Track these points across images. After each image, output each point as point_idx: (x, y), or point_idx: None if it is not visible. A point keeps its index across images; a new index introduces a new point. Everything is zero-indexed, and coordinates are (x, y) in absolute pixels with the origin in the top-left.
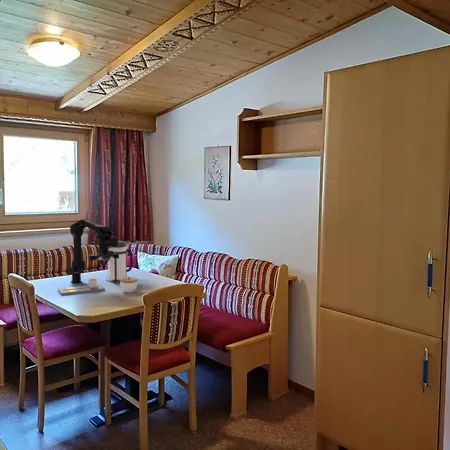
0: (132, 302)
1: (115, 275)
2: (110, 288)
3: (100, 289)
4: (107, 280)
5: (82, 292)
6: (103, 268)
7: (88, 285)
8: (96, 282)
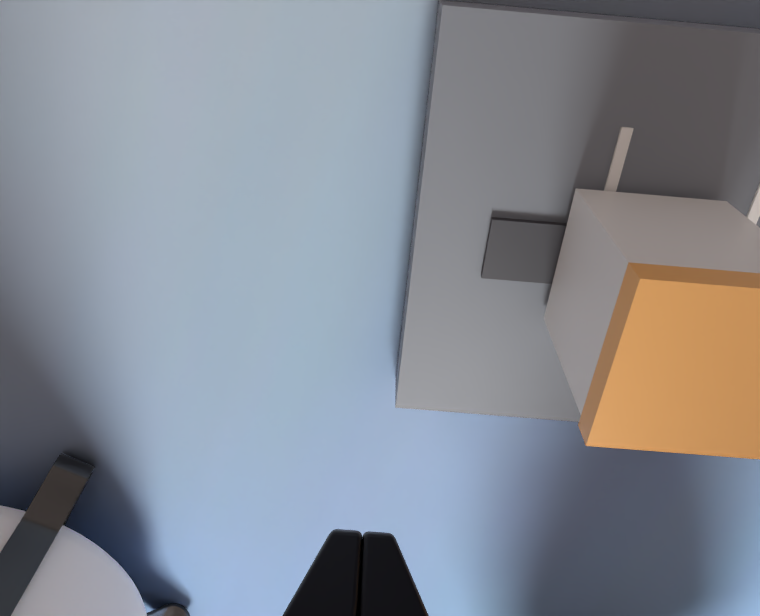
0: None
1: (7, 586)
2: (254, 143)
3: (553, 11)
4: (174, 613)
5: None
6: (382, 590)
7: None
8: (612, 236)
